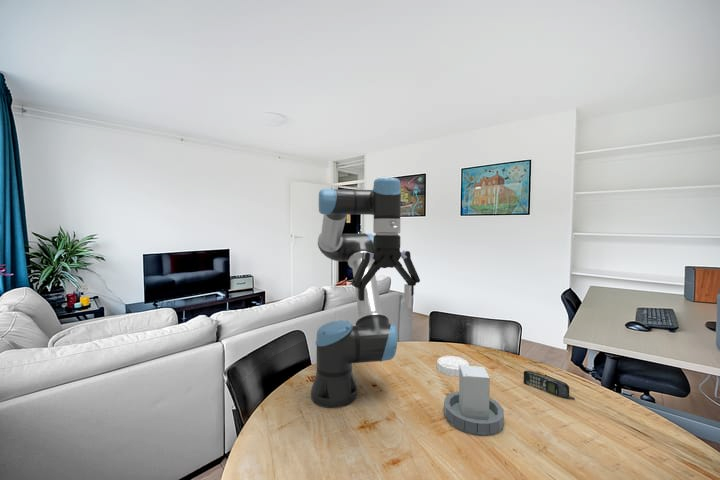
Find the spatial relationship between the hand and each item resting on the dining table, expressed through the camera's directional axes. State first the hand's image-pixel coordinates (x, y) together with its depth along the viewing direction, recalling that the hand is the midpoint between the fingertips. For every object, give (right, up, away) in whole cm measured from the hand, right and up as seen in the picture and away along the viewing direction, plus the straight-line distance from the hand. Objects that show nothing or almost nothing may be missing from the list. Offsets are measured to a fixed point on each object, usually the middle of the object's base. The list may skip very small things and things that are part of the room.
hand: (386, 309), depth 87 cm
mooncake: (+28, -31, +33) cm, 53 cm away
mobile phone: (+56, -32, +17) cm, 66 cm away
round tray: (+25, -32, +2) cm, 40 cm away
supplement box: (+25, -31, +2) cm, 40 cm away
